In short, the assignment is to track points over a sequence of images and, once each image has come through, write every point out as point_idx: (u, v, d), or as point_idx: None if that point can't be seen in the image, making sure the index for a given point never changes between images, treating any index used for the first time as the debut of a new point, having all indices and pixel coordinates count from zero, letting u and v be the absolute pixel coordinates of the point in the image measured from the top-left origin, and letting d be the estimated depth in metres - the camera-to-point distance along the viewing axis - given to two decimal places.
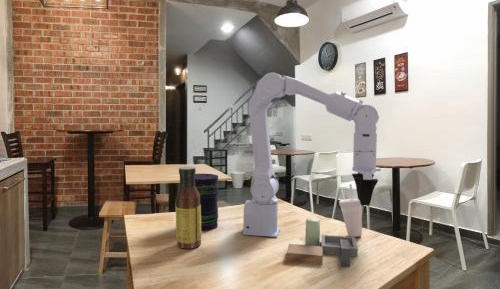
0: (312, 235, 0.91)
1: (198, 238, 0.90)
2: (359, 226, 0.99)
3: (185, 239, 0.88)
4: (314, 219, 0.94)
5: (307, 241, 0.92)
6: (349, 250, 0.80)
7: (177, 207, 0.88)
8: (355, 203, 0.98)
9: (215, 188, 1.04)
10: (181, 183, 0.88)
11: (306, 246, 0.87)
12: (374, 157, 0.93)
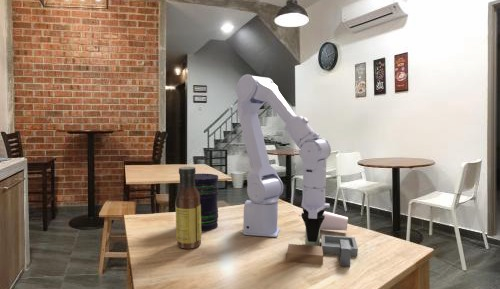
0: None
1: (198, 238, 0.90)
2: (338, 215, 1.04)
3: (185, 239, 0.88)
4: None
5: (307, 241, 0.92)
6: (349, 250, 0.80)
7: (177, 207, 0.88)
8: None
9: (215, 188, 1.04)
10: (181, 183, 0.88)
11: (306, 246, 0.87)
12: (322, 193, 0.90)
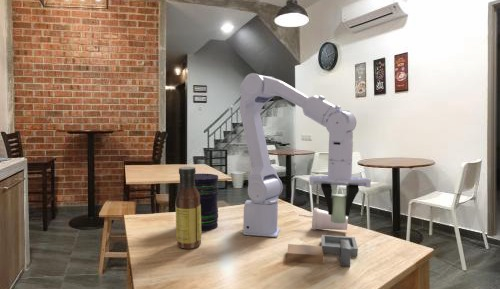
0: None
1: (198, 238, 0.90)
2: None
3: (185, 239, 0.88)
4: (341, 196, 0.90)
5: None
6: (349, 250, 0.80)
7: (177, 207, 0.88)
8: (316, 209, 1.05)
9: (215, 188, 1.04)
10: (181, 183, 0.88)
11: (306, 246, 0.87)
12: (333, 166, 0.88)
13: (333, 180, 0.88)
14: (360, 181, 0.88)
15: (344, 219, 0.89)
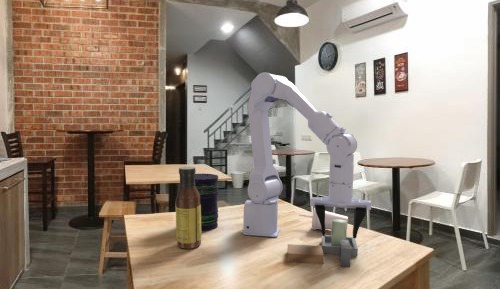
0: None
1: (198, 238, 0.90)
2: (338, 214, 1.04)
3: (185, 239, 0.88)
4: (342, 221, 0.90)
5: None
6: (349, 250, 0.80)
7: (177, 207, 0.88)
8: None
9: (215, 188, 1.04)
10: (181, 183, 0.88)
11: (305, 246, 0.87)
12: (333, 189, 0.88)
13: (333, 203, 0.88)
14: (360, 204, 0.88)
15: None
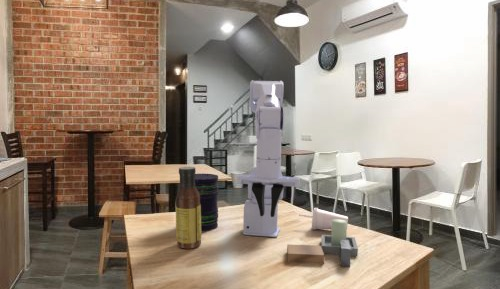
0: None
1: (198, 238, 0.90)
2: (338, 214, 1.04)
3: (185, 239, 0.88)
4: (342, 221, 0.90)
5: None
6: (349, 250, 0.80)
7: (177, 207, 0.88)
8: (316, 209, 1.05)
9: (215, 188, 1.04)
10: (181, 183, 0.88)
11: (305, 246, 0.87)
12: (259, 165, 0.83)
13: (259, 179, 0.83)
14: (288, 181, 0.83)
15: None
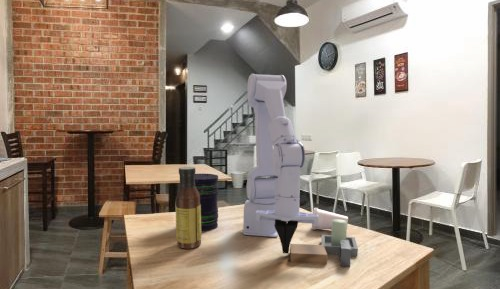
0: None
1: (198, 238, 0.90)
2: (338, 214, 1.04)
3: (185, 239, 0.88)
4: (342, 221, 0.90)
5: None
6: (349, 250, 0.80)
7: (177, 207, 0.88)
8: (316, 209, 1.05)
9: (215, 188, 1.04)
10: (181, 183, 0.88)
11: (308, 245, 0.87)
12: (278, 202, 0.83)
13: (278, 217, 0.83)
14: (307, 218, 0.83)
15: None
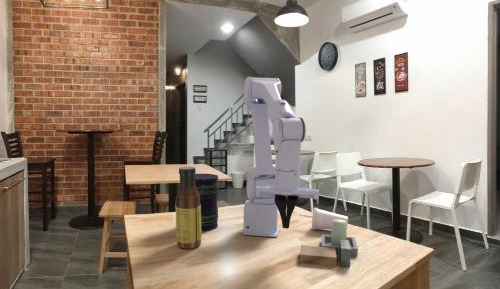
0: None
1: (198, 238, 0.90)
2: (338, 214, 1.04)
3: (185, 239, 0.88)
4: (342, 221, 0.90)
5: None
6: (349, 250, 0.80)
7: (177, 207, 0.88)
8: (316, 209, 1.05)
9: (215, 188, 1.04)
10: (181, 183, 0.88)
11: (319, 247, 0.86)
12: (278, 177, 0.82)
13: (278, 191, 0.82)
14: (307, 193, 0.82)
15: None
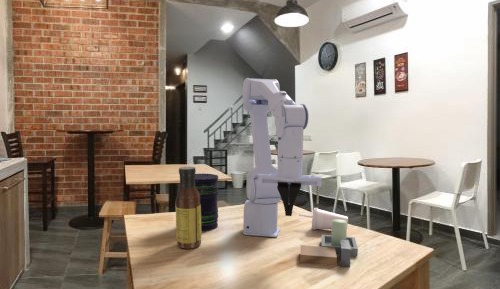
0: None
1: (198, 238, 0.90)
2: (338, 214, 1.04)
3: (185, 239, 0.88)
4: (342, 221, 0.90)
5: None
6: (349, 250, 0.80)
7: (177, 207, 0.88)
8: (316, 209, 1.05)
9: (215, 188, 1.04)
10: (181, 183, 0.88)
11: (318, 247, 0.86)
12: (281, 164, 0.82)
13: (281, 178, 0.82)
14: (310, 180, 0.82)
15: None
